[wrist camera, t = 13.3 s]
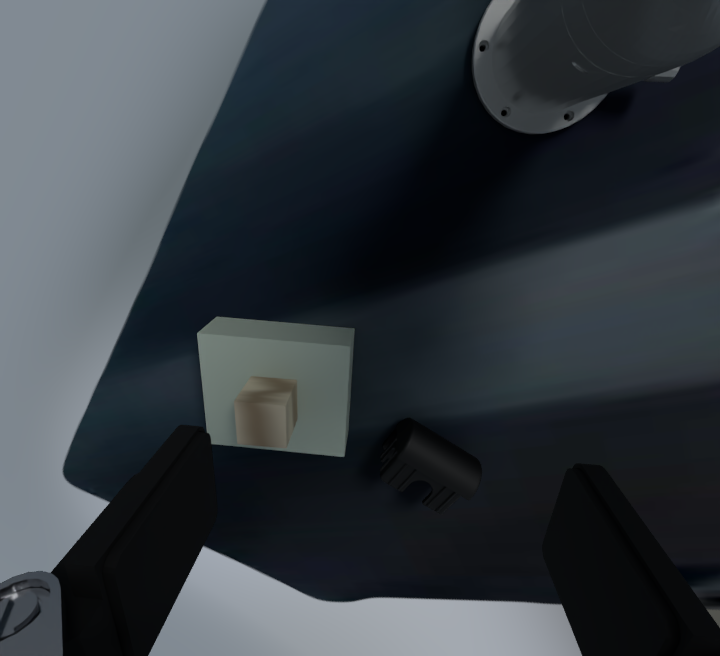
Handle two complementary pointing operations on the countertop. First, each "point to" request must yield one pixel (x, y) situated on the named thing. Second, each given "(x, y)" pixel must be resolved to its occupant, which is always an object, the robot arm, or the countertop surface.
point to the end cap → (429, 465)
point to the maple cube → (266, 412)
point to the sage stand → (279, 360)
